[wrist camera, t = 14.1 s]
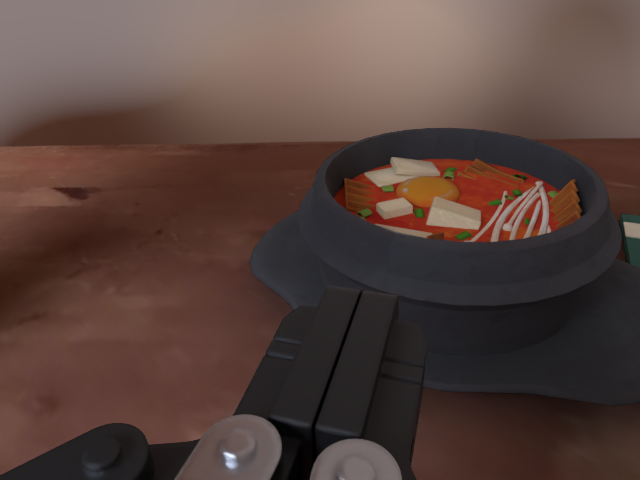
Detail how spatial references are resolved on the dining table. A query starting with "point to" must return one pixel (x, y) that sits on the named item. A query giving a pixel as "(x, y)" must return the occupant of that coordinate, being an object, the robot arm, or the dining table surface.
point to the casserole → (473, 259)
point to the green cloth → (631, 238)
